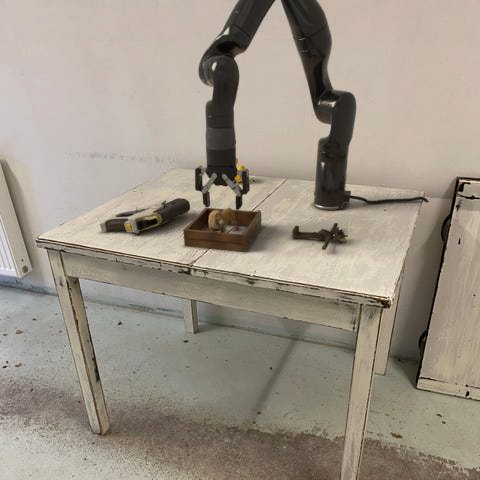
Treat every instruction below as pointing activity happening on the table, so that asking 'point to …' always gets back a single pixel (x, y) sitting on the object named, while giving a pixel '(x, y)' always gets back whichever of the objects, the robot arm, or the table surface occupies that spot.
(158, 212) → the toy blaster
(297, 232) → the brown humanoid figurine
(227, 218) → the lion figurine
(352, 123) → the robot arm
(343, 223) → the table surface
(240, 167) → the duckling
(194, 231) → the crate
